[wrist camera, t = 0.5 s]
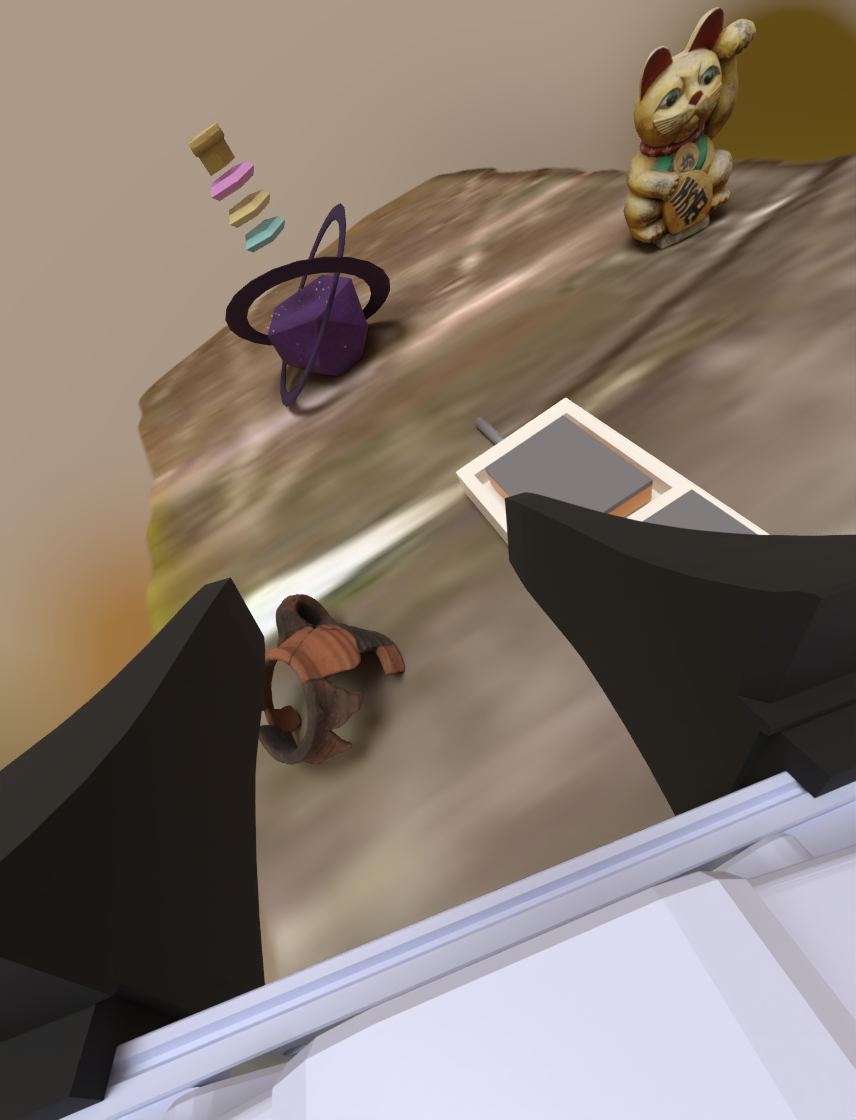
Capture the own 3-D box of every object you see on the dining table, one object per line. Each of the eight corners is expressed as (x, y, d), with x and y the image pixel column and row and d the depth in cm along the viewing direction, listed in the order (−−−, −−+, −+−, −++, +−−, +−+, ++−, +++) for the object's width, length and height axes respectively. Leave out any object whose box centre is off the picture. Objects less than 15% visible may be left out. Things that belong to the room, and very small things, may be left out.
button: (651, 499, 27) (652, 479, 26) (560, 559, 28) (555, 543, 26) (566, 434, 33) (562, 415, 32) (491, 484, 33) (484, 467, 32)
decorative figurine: (647, 265, 43) (654, 58, 31) (606, 243, 48) (599, 57, 36) (740, 213, 42) (783, -25, 30) (687, 196, 47) (707, -13, 35)
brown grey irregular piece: (436, 697, 29) (346, 735, 22) (363, 758, 33) (269, 805, 26) (358, 566, 34) (266, 565, 27) (303, 634, 38) (212, 647, 31)
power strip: (1367, 1010, 12) (1542, 1054, 10) (1037, 1186, 13) (1130, 1268, 10) (525, 392, 40) (518, 366, 38) (433, 455, 41) (422, 432, 38)
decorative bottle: (415, 294, 61) (315, 44, 41) (413, 379, 49) (273, 89, 30) (291, 350, 68) (156, 160, 48) (264, 436, 56) (73, 232, 37)
